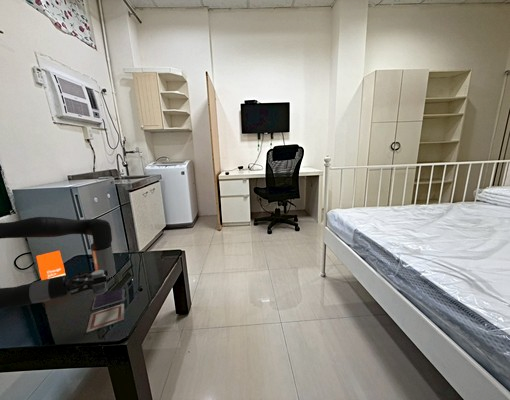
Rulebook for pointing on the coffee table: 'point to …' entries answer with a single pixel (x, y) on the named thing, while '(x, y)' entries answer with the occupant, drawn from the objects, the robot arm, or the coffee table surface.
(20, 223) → the robot arm
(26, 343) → the coffee table surface
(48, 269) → the orange juice
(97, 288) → the pill bottle
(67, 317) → the coffee table surface
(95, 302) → the ink pad
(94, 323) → the marked board
